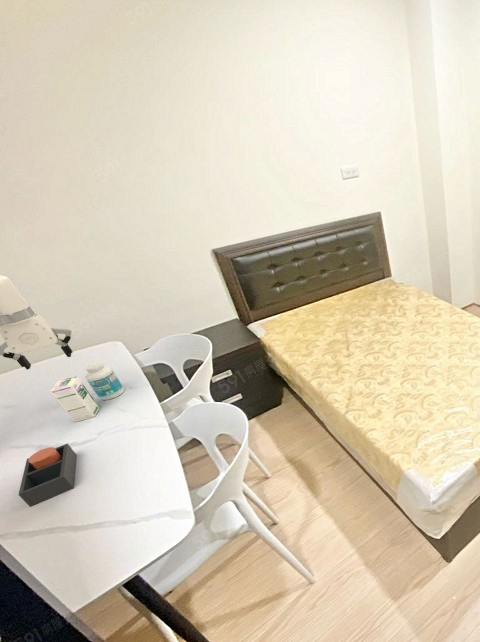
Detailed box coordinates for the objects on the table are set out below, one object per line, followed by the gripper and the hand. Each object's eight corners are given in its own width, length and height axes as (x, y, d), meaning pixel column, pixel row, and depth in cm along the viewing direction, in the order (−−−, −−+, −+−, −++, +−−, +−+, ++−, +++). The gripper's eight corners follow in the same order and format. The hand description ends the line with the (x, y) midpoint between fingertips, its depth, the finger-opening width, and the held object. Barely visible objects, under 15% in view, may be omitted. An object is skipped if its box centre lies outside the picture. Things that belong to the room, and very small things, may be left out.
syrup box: (95, 417, 140) (72, 384, 133) (73, 422, 138) (48, 390, 130) (100, 407, 144) (78, 375, 137) (79, 413, 142) (55, 380, 135)
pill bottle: (95, 402, 147) (74, 373, 140) (107, 390, 153) (88, 361, 147) (118, 398, 148) (99, 369, 142) (129, 387, 155) (111, 358, 148)
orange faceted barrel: (42, 482, 114) (26, 465, 111) (44, 470, 118) (29, 454, 115) (68, 471, 118) (54, 454, 114) (69, 460, 121) (56, 444, 118)
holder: (31, 508, 108) (18, 495, 105) (38, 472, 119) (26, 458, 116) (75, 490, 113) (63, 476, 110) (78, 456, 124) (67, 443, 121)
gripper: (-30, 330, 114) (10, 377, 122) (53, 310, 123) (84, 355, 132) (-24, 321, 119) (14, 367, 127) (55, 302, 128) (85, 346, 137)
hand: (49, 361), depth 130 cm, fingers open, 9 cm apart
